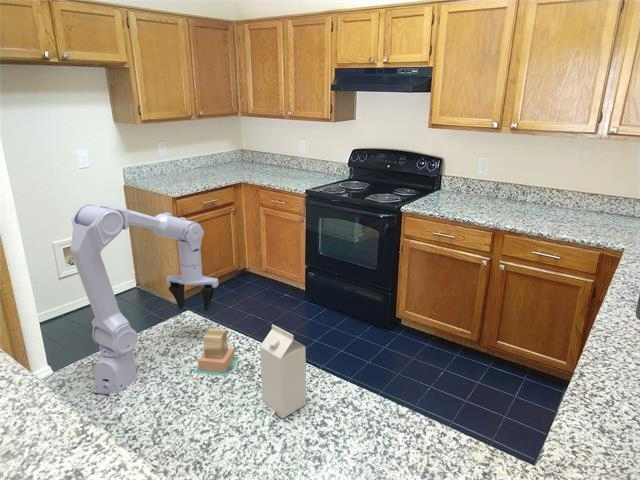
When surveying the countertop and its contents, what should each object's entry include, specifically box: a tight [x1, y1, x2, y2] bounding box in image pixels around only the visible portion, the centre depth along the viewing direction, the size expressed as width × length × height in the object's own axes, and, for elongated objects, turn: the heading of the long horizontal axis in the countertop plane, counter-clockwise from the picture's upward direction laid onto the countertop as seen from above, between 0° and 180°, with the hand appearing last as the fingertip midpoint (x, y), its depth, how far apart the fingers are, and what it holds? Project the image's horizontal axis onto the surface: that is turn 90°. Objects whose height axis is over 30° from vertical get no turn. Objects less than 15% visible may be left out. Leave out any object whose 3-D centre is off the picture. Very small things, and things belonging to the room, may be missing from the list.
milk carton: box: [259, 324, 307, 419], centre depth 100 cm, size 7×7×19 cm
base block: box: [197, 347, 236, 373], centre depth 117 cm, size 7×7×3 cm
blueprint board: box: [193, 356, 240, 377], centre depth 118 cm, size 14×12×1 cm
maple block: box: [202, 328, 229, 359], centre depth 116 cm, size 4×4×6 cm
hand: (194, 308), depth 128 cm, fingers open, 7 cm apart
